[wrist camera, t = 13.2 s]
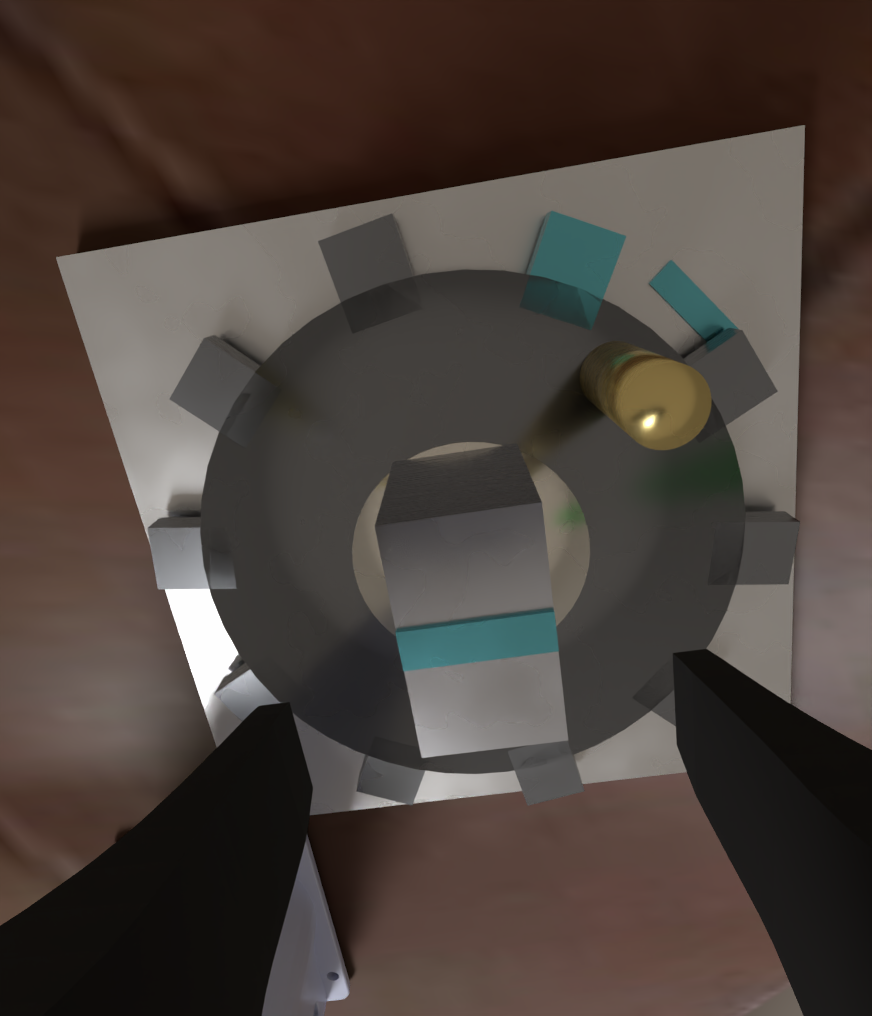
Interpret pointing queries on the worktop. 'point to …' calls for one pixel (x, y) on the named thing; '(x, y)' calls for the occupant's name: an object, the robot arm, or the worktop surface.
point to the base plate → (472, 246)
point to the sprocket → (456, 428)
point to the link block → (472, 601)
